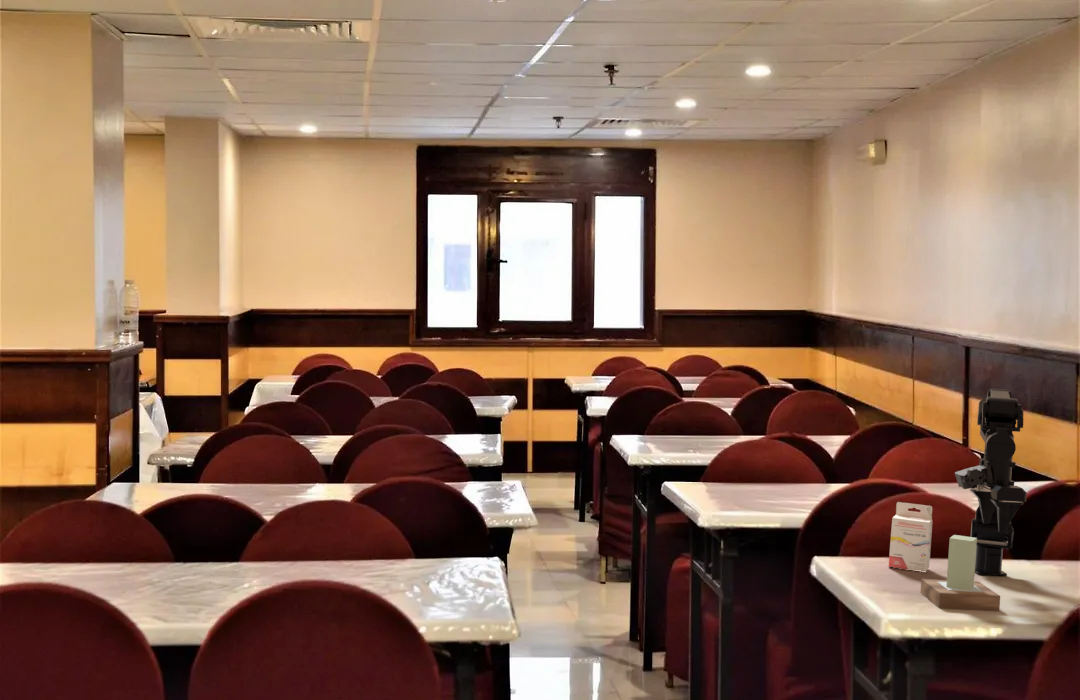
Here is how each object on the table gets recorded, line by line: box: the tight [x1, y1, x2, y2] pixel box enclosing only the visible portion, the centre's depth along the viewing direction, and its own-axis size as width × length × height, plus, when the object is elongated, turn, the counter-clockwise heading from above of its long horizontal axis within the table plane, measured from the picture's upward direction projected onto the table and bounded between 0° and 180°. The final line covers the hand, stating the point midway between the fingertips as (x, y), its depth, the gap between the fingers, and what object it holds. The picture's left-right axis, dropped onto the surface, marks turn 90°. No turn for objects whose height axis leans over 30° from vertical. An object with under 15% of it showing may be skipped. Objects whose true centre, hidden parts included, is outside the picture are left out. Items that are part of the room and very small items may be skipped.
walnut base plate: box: [920, 578, 1001, 612], centre depth 247 cm, size 12×12×3 cm
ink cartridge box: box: [888, 501, 934, 572], centre depth 276 cm, size 9×5×15 cm, turn 65°
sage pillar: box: [946, 534, 977, 590], centre depth 246 cm, size 4×4×10 cm
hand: (993, 527), depth 261 cm, fingers open, 9 cm apart
